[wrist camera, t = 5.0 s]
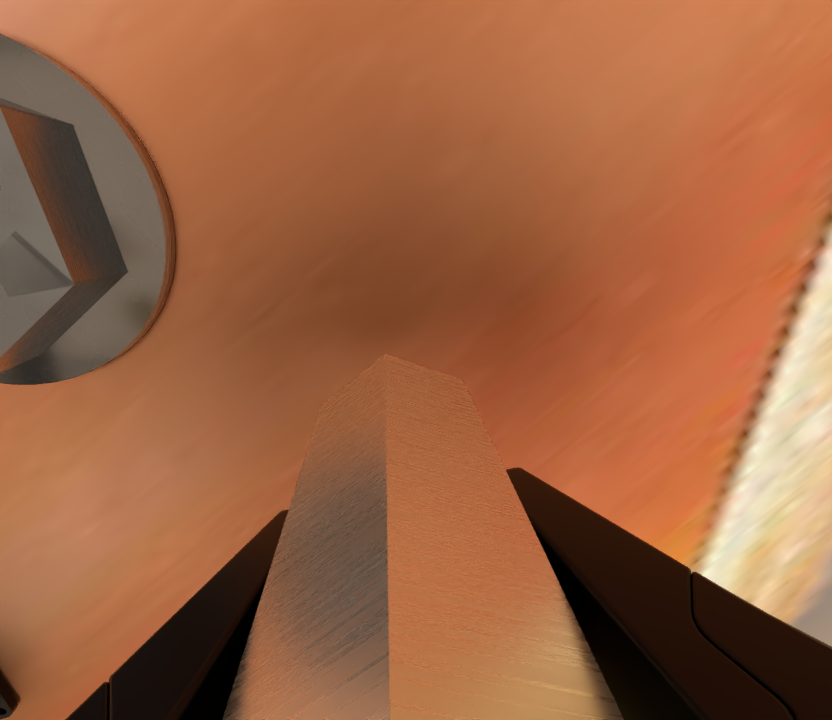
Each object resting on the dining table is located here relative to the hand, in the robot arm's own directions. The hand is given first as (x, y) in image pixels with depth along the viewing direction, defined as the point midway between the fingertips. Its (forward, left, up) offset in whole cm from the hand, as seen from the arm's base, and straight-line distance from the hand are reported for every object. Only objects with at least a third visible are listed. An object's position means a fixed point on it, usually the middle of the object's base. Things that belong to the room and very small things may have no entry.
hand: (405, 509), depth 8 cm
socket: (+7, +13, -11) cm, 19 cm away
